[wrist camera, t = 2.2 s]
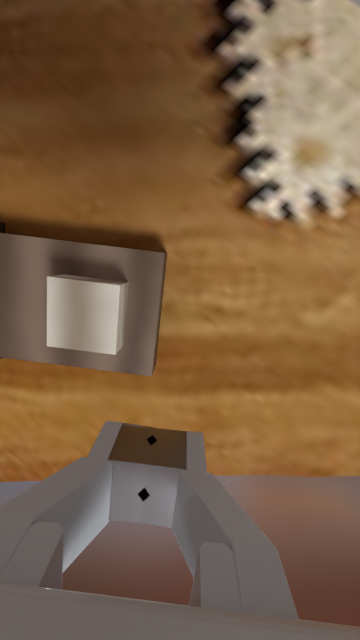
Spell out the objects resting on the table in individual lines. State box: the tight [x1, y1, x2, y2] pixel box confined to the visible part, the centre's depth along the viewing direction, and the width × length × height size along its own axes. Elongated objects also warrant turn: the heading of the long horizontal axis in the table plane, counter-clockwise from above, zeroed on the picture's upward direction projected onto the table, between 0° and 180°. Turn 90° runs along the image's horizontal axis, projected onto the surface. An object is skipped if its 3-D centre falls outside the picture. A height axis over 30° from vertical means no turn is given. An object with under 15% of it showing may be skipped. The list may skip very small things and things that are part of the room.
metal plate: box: [0, 233, 167, 376], centre depth 27 cm, size 16×12×3 cm
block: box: [47, 274, 129, 355], centre depth 24 cm, size 6×6×3 cm
